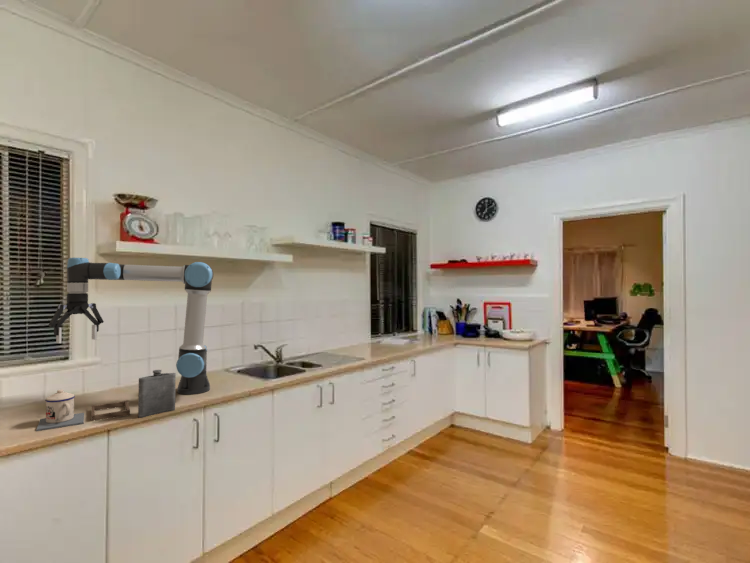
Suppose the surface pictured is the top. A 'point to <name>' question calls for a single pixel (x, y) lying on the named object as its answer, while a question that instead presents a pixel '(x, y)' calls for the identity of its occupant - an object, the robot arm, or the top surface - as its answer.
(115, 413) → the brown wooden tray
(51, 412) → the teacup with lid
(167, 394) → the flask
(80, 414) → the slate mat
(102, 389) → the top surface
